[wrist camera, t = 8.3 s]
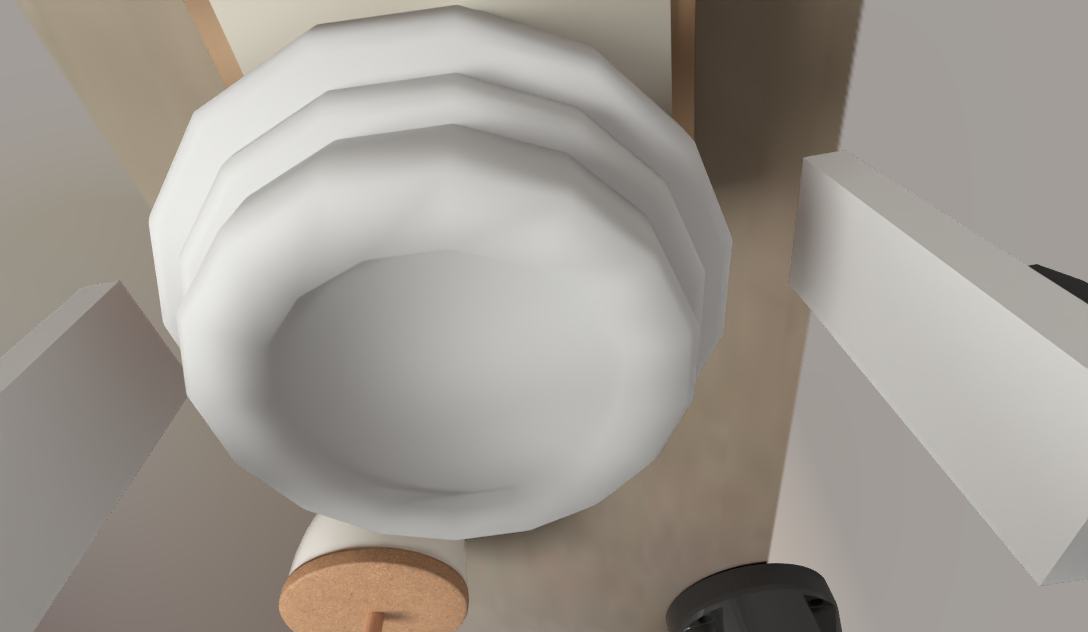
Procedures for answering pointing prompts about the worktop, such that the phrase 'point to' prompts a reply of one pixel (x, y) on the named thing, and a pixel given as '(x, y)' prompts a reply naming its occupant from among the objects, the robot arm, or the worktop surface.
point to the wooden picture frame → (543, 3)
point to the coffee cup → (440, 273)
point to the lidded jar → (374, 582)
